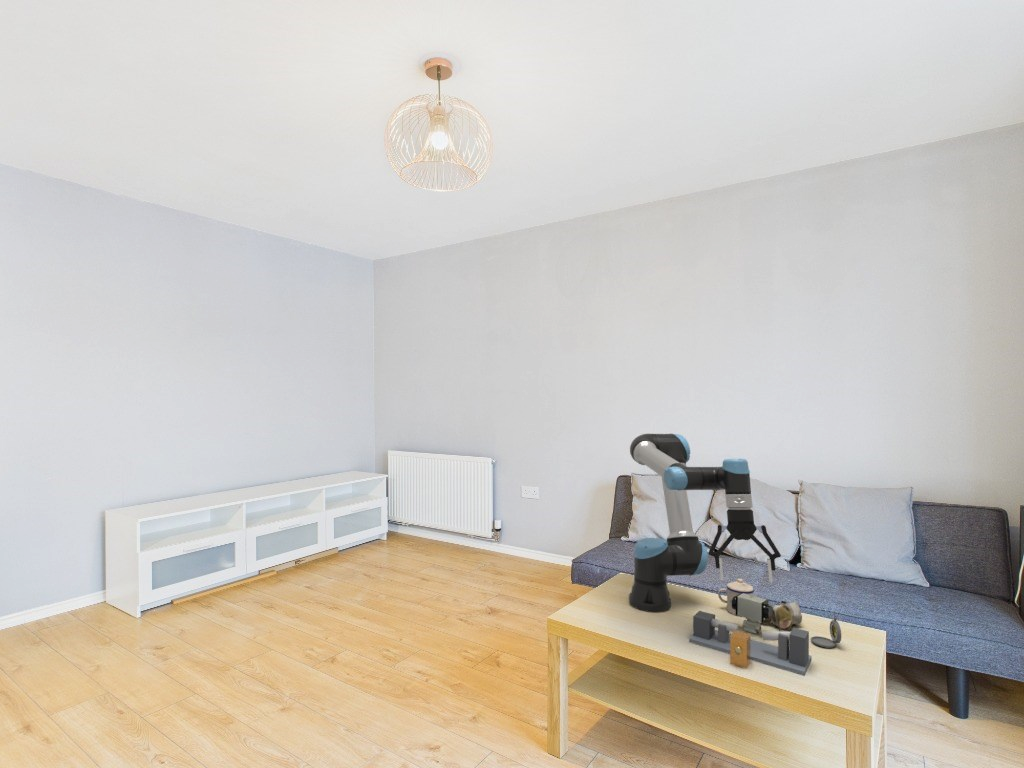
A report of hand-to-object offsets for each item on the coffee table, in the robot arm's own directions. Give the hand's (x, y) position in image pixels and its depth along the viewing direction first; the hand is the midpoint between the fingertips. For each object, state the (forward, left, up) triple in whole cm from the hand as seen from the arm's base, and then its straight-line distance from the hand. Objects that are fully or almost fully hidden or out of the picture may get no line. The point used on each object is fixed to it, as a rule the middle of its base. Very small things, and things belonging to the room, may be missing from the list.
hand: (746, 581), depth 162 cm
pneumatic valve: (-9, +15, -21) cm, 27 cm away
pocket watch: (+8, +28, -21) cm, 36 cm away
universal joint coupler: (+4, -8, -21) cm, 23 cm away
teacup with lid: (-23, +24, -21) cm, 39 cm away
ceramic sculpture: (-7, +27, -21) cm, 36 cm away
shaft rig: (0, +2, -21) cm, 21 cm away
